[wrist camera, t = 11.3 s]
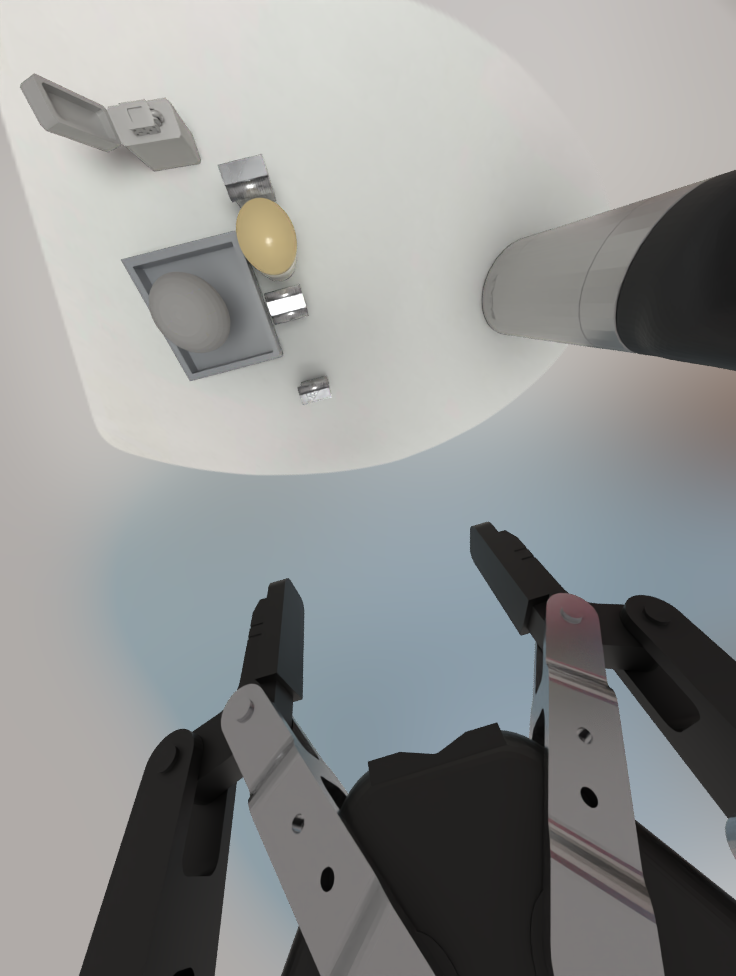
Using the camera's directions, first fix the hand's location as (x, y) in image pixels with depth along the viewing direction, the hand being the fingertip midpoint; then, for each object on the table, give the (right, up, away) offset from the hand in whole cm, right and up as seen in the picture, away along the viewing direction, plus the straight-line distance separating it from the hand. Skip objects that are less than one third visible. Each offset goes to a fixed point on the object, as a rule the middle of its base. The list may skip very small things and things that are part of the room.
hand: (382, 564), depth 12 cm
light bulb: (-16, +21, +16) cm, 31 cm away
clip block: (-9, +23, +17) cm, 30 cm away
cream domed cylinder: (-10, +26, +15) cm, 31 cm away
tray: (-16, +21, +17) cm, 32 cm away
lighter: (-18, +30, +11) cm, 37 cm away
